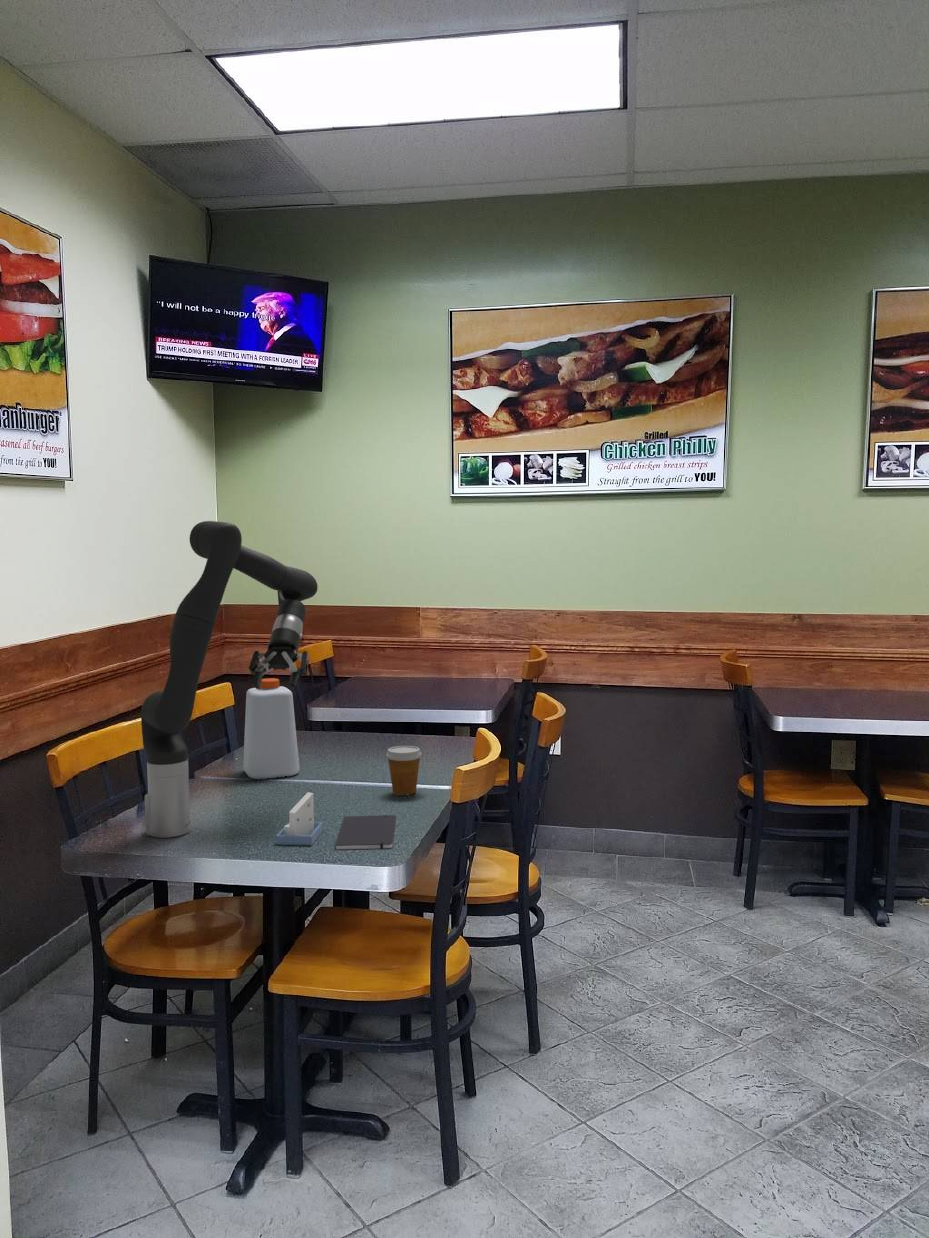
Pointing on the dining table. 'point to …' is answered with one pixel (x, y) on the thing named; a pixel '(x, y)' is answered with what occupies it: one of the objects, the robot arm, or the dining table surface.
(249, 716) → the plastic bottle
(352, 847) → the notebook
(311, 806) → the white angled block
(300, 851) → the dining table surface
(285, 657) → the robot arm
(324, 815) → the dining table surface
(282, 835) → the blue rectangular frame
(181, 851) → the dining table surface
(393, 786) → the disposable coffee cup
